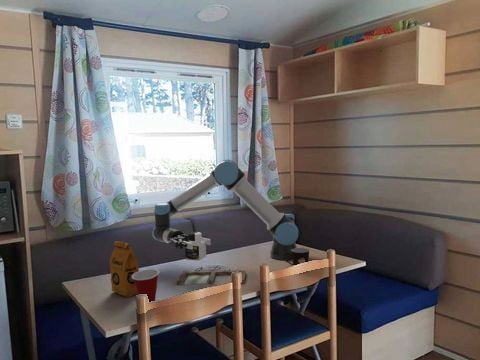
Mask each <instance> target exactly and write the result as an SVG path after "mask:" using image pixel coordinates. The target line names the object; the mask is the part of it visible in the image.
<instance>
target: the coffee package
mask: <svg viewBox="0 0 480 360" xmlns="http://www.w3.org/2000/svg"><path fill="white" fill-rule="evenodd" d="M113 245H114V247H113V251H112V252H111V256H110V259H109V265H110V267H109V268H110V283H111V284H110V285H111V292H114V293H116V294H118V295H120V296H122V297H125V298H130V297H132V296H133V297H134V296H136V295H138V293H137V289H136V285H135V282H134V280H133V279H132V275H133V274H134V273H136V272H138V271H140V269H139V265H138V260H137V257H136V255H135V253H134V251H133V249H132V247H131V244H129V243H127V242H124V241H117V240H115V241H114V242H113Z"/></svg>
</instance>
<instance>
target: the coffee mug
mask: <svg viewBox="0 0 480 360" xmlns="http://www.w3.org/2000/svg"><path fill="white" fill-rule="evenodd" d="M291 253H292V254H290V253H286V254H285V255H287V254H289V255H290V256H291V257H292V259H291V260H292V263H291V262H290V261H288V260H286V259H285V255H284V260H283V261H285V262H286V263H287V264H289V265H291V266H293V265H297V264H300V263H304V262H308V263H309V258H310V249H308V248H305V247H297V248H294V249H292V250H291Z"/></svg>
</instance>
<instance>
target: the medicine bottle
mask: <svg viewBox="0 0 480 360" xmlns="http://www.w3.org/2000/svg"><path fill="white" fill-rule="evenodd" d="M187 235H188V238H189V242H190V243H193V249H192V250H191V249H188V248H185V249H184V250H185V251H184V252H185V253H184V254H185V260H186V261H201V260H203V259H204V258H206V257H207V245H206V242H201V241H202V232H199V231H191V232H189V233H188V234H187Z"/></svg>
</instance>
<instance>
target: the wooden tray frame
mask: <svg viewBox="0 0 480 360" xmlns="http://www.w3.org/2000/svg"><path fill="white" fill-rule="evenodd" d="M236 271H239V272H241V273H242V283H241V284H245V281H244V280H246V269H233V270H227V269H226V270H189V271H188V270H185V271H182V273H181V274H180V275H179V278H178V279H177V281H176V285H178V286H179V285H183V284H184V285H206V284H207V283H208V285H213V284H214V282H215V278H216V276H231V273H232V272H236Z"/></svg>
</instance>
